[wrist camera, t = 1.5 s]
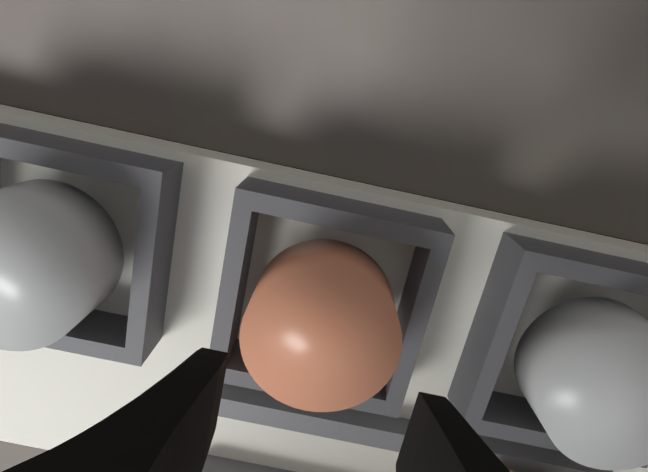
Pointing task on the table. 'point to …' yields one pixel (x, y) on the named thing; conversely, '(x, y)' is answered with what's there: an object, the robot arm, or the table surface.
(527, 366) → the grey button
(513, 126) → the table surface
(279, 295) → the terracotta button
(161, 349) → the panel
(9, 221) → the grey button
